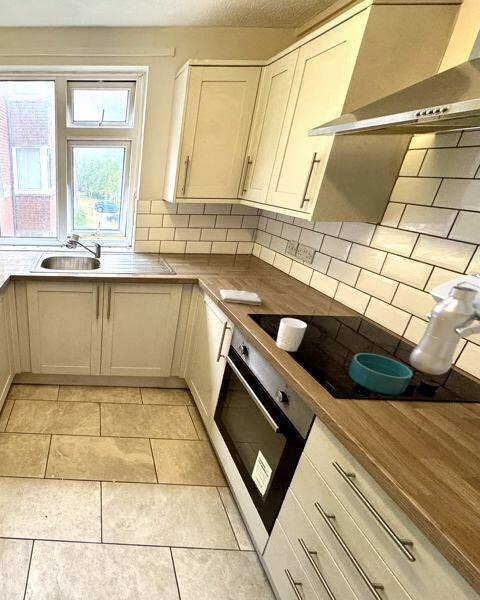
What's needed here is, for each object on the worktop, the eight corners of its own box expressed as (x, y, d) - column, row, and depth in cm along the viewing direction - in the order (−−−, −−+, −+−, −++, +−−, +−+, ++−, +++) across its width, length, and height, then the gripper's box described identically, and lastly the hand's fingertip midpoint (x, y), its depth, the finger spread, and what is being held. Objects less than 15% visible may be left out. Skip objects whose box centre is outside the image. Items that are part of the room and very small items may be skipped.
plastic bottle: (439, 367, 74) (480, 287, 66) (450, 382, 69) (496, 297, 61) (402, 359, 77) (437, 281, 70) (410, 372, 72) (449, 291, 64)
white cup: (277, 339, 121) (284, 315, 117) (301, 347, 116) (309, 322, 112) (271, 346, 116) (278, 322, 112) (296, 355, 111) (303, 329, 107)
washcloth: (262, 306, 151) (263, 300, 150) (222, 302, 155) (223, 296, 154) (256, 297, 161) (257, 291, 160) (219, 293, 166) (220, 288, 164)
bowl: (390, 373, 101) (397, 357, 99) (414, 399, 89) (423, 382, 87) (341, 365, 105) (346, 349, 103) (358, 389, 94) (365, 372, 91)
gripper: (466, 262, 72) (400, 298, 78) (577, 293, 54) (480, 338, 59) (481, 281, 73) (414, 316, 79) (594, 319, 54) (497, 361, 60)
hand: (443, 326), depth 69 cm, fingers closed on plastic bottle, 6 cm apart
